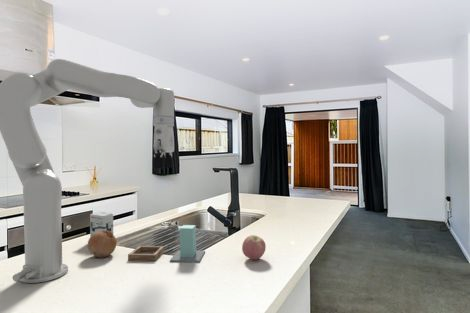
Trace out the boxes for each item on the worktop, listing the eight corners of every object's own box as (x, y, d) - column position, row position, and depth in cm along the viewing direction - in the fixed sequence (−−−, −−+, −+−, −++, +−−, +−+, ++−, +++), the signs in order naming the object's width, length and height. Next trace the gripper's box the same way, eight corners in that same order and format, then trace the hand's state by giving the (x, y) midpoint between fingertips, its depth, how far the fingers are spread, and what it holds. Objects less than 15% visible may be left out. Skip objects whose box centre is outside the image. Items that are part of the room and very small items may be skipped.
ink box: (89, 242, 124) (89, 213, 124) (100, 239, 129) (99, 211, 128) (104, 245, 120) (103, 215, 120) (114, 241, 124) (113, 213, 124)
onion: (113, 262, 110) (126, 236, 111) (96, 264, 101) (110, 236, 102) (95, 250, 113) (107, 225, 114) (76, 251, 104) (90, 224, 105)
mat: (199, 262, 100) (199, 260, 100) (170, 261, 101) (170, 259, 101) (205, 252, 110) (205, 250, 110) (178, 251, 111) (178, 250, 111)
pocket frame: (155, 261, 102) (155, 255, 102) (128, 260, 103) (128, 254, 103) (164, 251, 111) (164, 246, 111) (139, 251, 112) (139, 245, 112)
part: (192, 257, 103) (192, 228, 103) (180, 257, 104) (179, 228, 104) (196, 253, 108) (195, 225, 108) (183, 252, 108) (183, 225, 108)
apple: (246, 264, 98) (245, 240, 98) (239, 256, 105) (239, 234, 105) (268, 262, 100) (268, 238, 100) (260, 254, 107) (260, 232, 107)
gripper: (165, 119, 104) (165, 169, 104) (180, 124, 121) (180, 167, 121) (144, 119, 105) (144, 169, 105) (162, 124, 122) (162, 166, 122)
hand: (163, 167), depth 113 cm, fingers open, 9 cm apart
